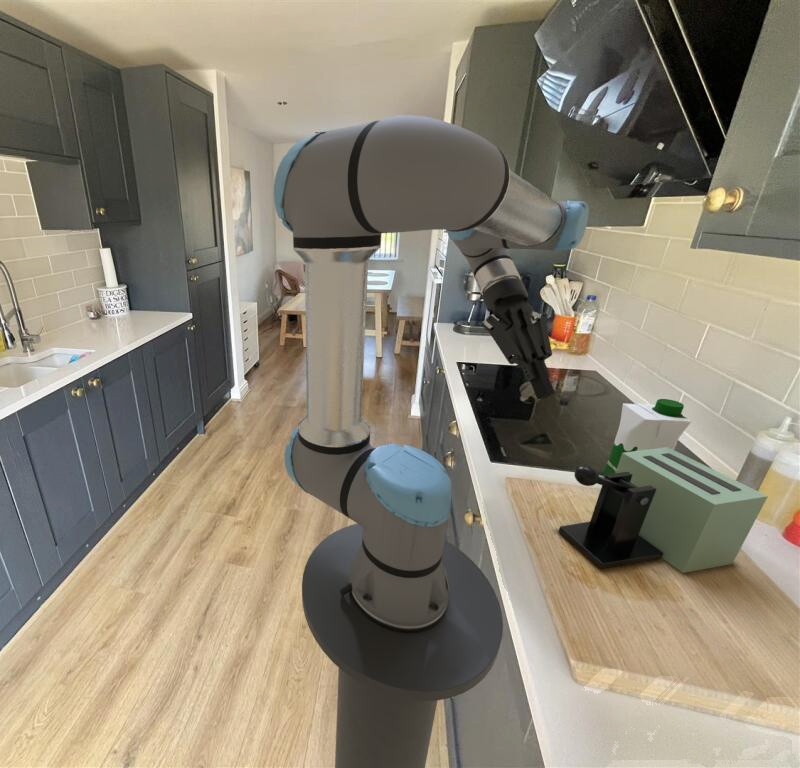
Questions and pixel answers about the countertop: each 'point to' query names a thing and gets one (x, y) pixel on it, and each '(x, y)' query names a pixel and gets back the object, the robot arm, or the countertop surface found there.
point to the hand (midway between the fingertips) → (546, 396)
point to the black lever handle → (601, 480)
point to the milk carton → (647, 429)
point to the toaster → (692, 508)
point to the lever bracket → (615, 527)
